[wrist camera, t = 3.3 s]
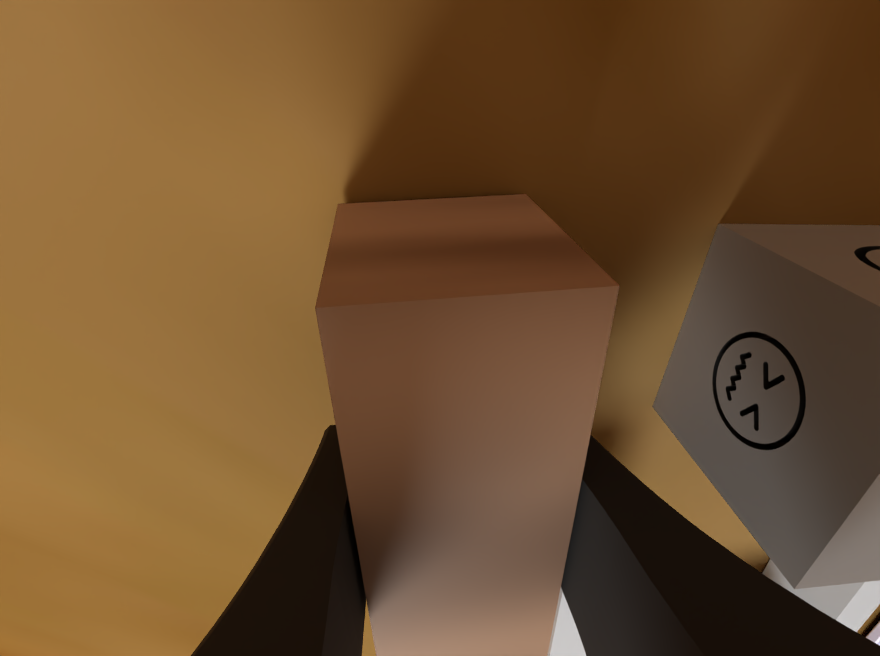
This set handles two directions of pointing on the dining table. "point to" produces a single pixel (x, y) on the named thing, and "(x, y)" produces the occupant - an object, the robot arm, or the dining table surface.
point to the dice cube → (787, 392)
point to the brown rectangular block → (462, 413)
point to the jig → (836, 600)
